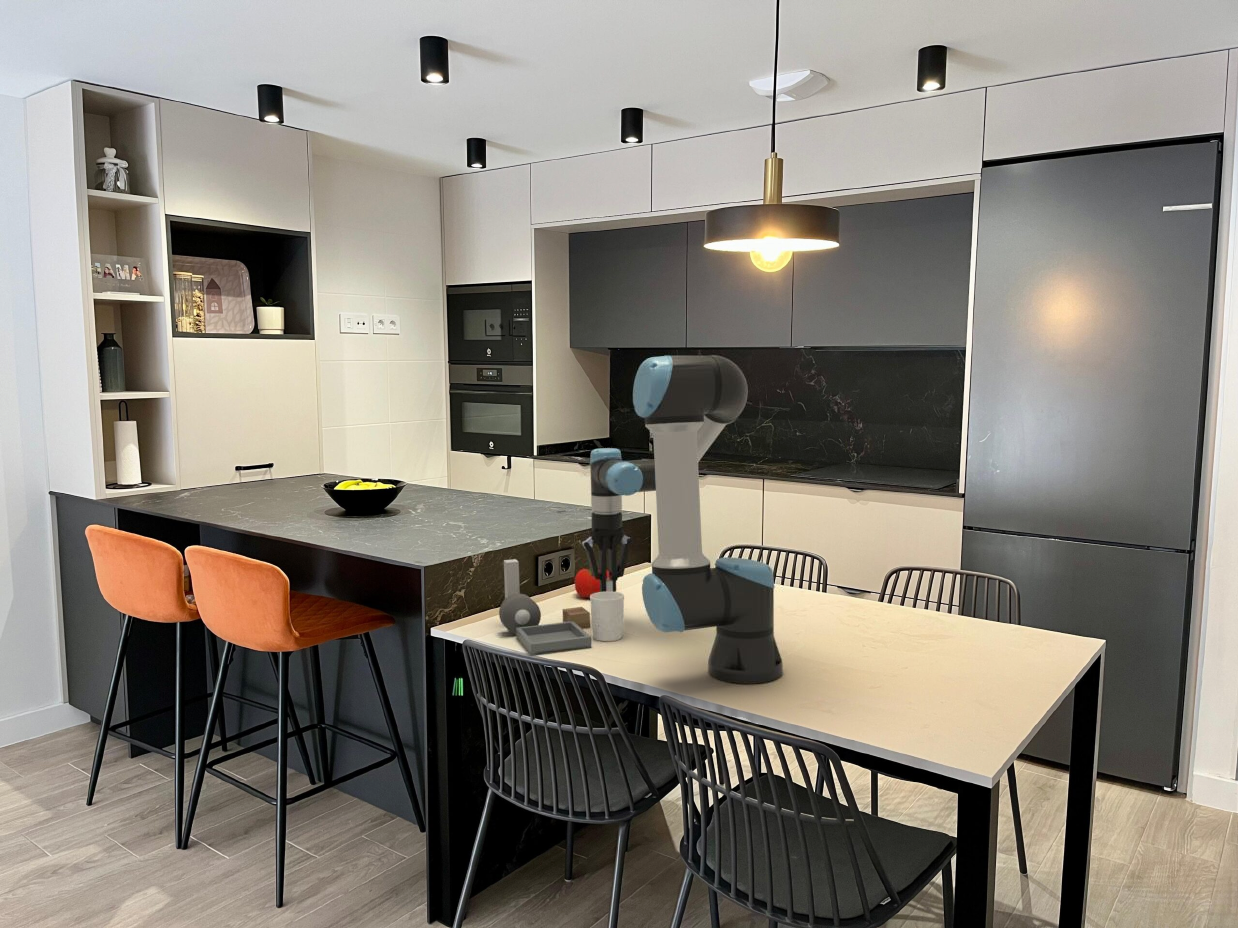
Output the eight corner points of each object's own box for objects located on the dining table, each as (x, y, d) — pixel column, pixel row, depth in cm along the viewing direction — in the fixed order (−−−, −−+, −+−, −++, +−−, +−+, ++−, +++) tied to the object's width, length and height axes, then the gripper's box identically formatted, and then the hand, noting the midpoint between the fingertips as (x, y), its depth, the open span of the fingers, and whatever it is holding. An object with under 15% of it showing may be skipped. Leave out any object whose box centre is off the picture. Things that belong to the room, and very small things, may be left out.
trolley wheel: (541, 633, 216) (539, 567, 214) (504, 637, 213) (502, 571, 211) (529, 620, 227) (527, 558, 225) (494, 625, 224) (491, 561, 222)
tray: (591, 647, 204) (591, 636, 204) (531, 655, 199) (530, 644, 199) (573, 631, 217) (573, 620, 217) (516, 638, 212) (515, 627, 212)
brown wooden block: (590, 628, 220) (589, 612, 219) (570, 631, 218) (570, 614, 217) (582, 622, 225) (581, 606, 225) (562, 624, 223) (562, 608, 223)
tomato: (620, 594, 252) (620, 567, 251) (598, 603, 243) (598, 575, 242) (588, 589, 258) (588, 563, 257) (566, 598, 248) (565, 571, 248)
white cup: (626, 632, 215) (625, 591, 214) (623, 642, 207) (622, 599, 206) (593, 632, 216) (592, 591, 215) (589, 642, 208) (587, 599, 207)
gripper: (626, 507, 227) (627, 599, 230) (576, 511, 223) (578, 604, 226) (637, 512, 220) (638, 606, 223) (585, 516, 216) (588, 612, 219)
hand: (608, 605), depth 224 cm, fingers closed
